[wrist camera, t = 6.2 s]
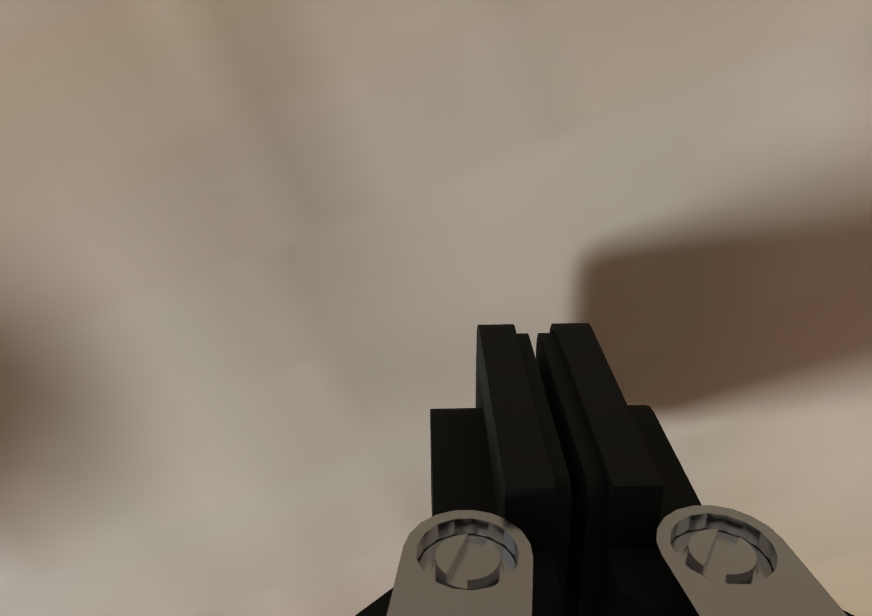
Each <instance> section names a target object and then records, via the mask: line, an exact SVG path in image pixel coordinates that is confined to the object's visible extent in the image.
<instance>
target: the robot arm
mask: <svg viewBox="0 0 872 616" xmlns="http://www.w3.org/2000/svg"><path fill="white" fill-rule="evenodd" d="M430 429H431V496H432V517H431V518H429V519H427V520H425V521H423V522H421V523H420V524H419V525H418V526H417V527H416V528H415V529H414V530H413V531H412V532H411V533H410V534H409V536H408V538H407V540H406V542H405V544H404V546H403V550H402V554H401V558H400V562H399V566H398V571H397V575H396V579H395V583H394V587H393V588H392V589H391V590H389V591H388V592H387V593H385V594H384V595H383V596H381V597H380V598H378V599H377V600H376V601H374V602H373V603H372V604H370V605H369V606H368V607H366V608H365V609H364V610H362V611H361V612H360V613H358V614H357V615H356V616H854V615H852V614H850V613H848V612H846V611H844V610H842V609H841V608H840V606H839V605H838V604H837V603H836V602H835V601H834V599H833V598H832V597H831V596H830V595H829V593H828V592H827V591H826V590H825V589H824V588H823V586H822V585H821V584H820V583H819V582H818V580H817V579H816V578H815V577H814V576H813V574H812V573H811V572H810V571H809V570H808V569H807V567H806V566H805V565H804V564H803V563H802V561H801V560H800V559H799V558H798V557H797V556H796V554H795V553H794V552H793V551H792V550H791V548H790V547H789V546H788V545H787V544H786V542H785V541H784V540H783V539H782V538H781V537H780V536H779V535H778V534H777V533H776V532H774V531H773V530H772V529H771V528H770V527H769V526H767V525H766V524H764V523H762V522H761V521H759V520H757V519H755V518H754V517H752V516H750V515H747V514H744V513H742V512H739V511H736V510H733V509H730V508H724V507H718V506H713V505H701V503H700V501H699V499H698V497H697V495H696V493H695V491H694V489H693V487H692V486H691V484H690V482H689V480H688V478H687V476H686V474H685V472H684V470H683V468H682V466H681V464H680V462H679V460H678V458H677V456H676V454H675V452H674V450H673V449H672V447H671V445H670V443H669V441H668V439H667V437H666V435H665V433H664V431H663V429H662V427H661V425H660V423H659V421H658V419H657V417H656V415H655V413H654V412H653V410H652V409H651V407H650V406H647V405H627V404H626V401H625V399H624V397H623V395H622V393H621V391H620V388H619V386H618V384H617V382H616V380H615V378H614V375H613V373H612V371H611V369H610V367H609V365H608V362H607V360H606V358H605V356H604V354H603V352H602V349H601V347H600V345H599V343H598V341H597V339H596V337H595V334H594V332H593V330H592V328H591V326H590V324H589V323H566V324H552V325H551V328H550V333H538V337H537V346H536V358H535V355H534V352H533V348H532V345H531V341H530V338H529V335H528V333H526V334H516V330H515V326H514V324H503V325H478V327H477V353H476V408H457V409H430Z"/></svg>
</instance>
